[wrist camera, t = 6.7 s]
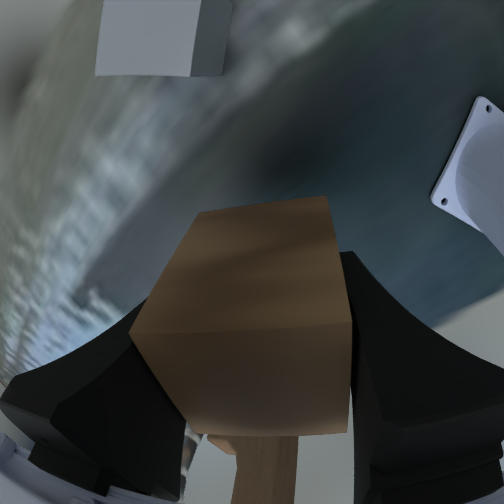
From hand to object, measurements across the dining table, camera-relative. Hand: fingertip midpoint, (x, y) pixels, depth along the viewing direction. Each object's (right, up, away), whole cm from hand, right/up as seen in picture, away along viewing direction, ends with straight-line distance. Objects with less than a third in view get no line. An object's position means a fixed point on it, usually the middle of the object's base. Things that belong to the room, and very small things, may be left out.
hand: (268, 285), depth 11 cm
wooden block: (0, -17, +22) cm, 28 cm away
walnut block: (0, +1, +1) cm, 2 cm away
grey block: (-4, +13, +4) cm, 15 cm away
